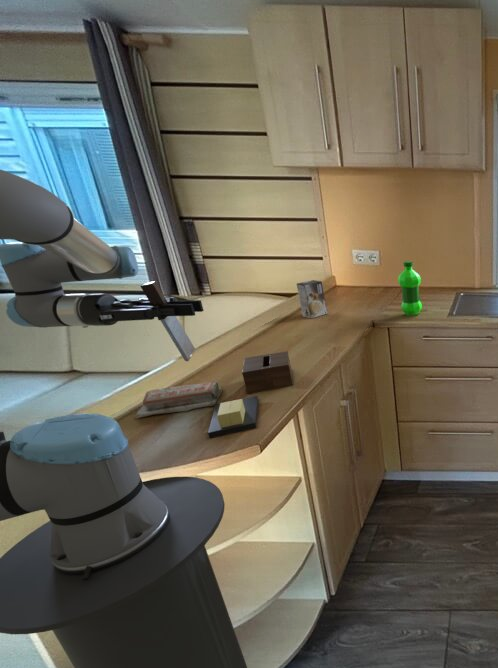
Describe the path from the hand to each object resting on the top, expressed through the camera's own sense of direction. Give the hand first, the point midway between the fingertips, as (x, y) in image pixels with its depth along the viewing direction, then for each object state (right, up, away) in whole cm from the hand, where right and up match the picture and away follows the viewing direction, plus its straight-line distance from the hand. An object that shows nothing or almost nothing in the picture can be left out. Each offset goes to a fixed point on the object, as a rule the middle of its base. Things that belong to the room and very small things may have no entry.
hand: (197, 307), depth 97 cm
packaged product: (-17, -26, +17) cm, 35 cm away
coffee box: (-15, +5, +96) cm, 97 cm away
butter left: (+3, -28, +6) cm, 29 cm away
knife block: (+1, -21, +30) cm, 36 cm away
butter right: (+5, -28, +7) cm, 29 cm away
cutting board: (+3, -28, +10) cm, 30 cm away
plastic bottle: (+31, +5, +98) cm, 103 cm away
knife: (-5, -12, +5) cm, 14 cm away
